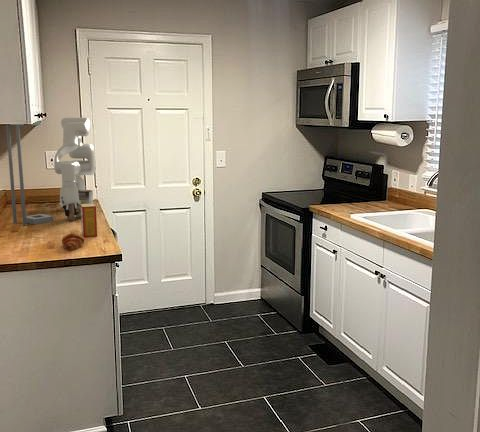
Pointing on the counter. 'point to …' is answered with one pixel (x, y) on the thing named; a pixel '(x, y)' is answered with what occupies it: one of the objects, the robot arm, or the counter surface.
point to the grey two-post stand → (19, 172)
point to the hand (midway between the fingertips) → (70, 215)
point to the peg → (71, 213)
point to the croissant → (72, 241)
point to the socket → (39, 219)
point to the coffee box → (84, 200)
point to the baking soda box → (88, 220)
